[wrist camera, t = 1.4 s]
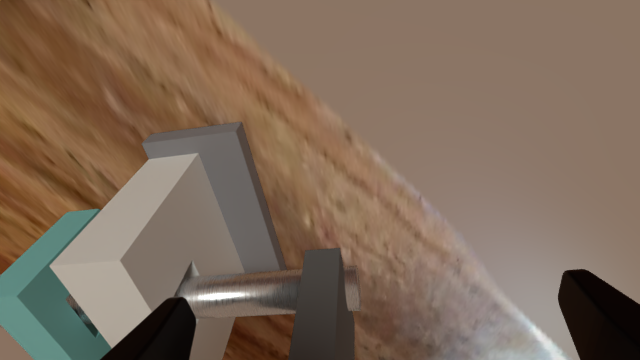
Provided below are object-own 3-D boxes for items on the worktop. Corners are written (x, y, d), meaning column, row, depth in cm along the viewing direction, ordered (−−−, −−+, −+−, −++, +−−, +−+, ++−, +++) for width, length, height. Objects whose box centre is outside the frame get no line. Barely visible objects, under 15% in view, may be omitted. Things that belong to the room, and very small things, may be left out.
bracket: (216, 278, 28) (162, 414, 20) (151, 134, 22) (34, 246, 14) (288, 274, 27) (260, 413, 19) (241, 122, 21) (172, 234, 13)
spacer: (123, 297, 25) (63, 389, 19) (67, 212, 21) (-24, 298, 16) (151, 295, 24) (97, 389, 19) (99, 208, 21) (16, 296, 16)
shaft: (48, 322, 22) (-61, 458, 16) (-4, 261, 20) (-155, 397, 14) (364, 305, 19) (368, 464, 14) (351, 231, 17) (349, 388, 11)
